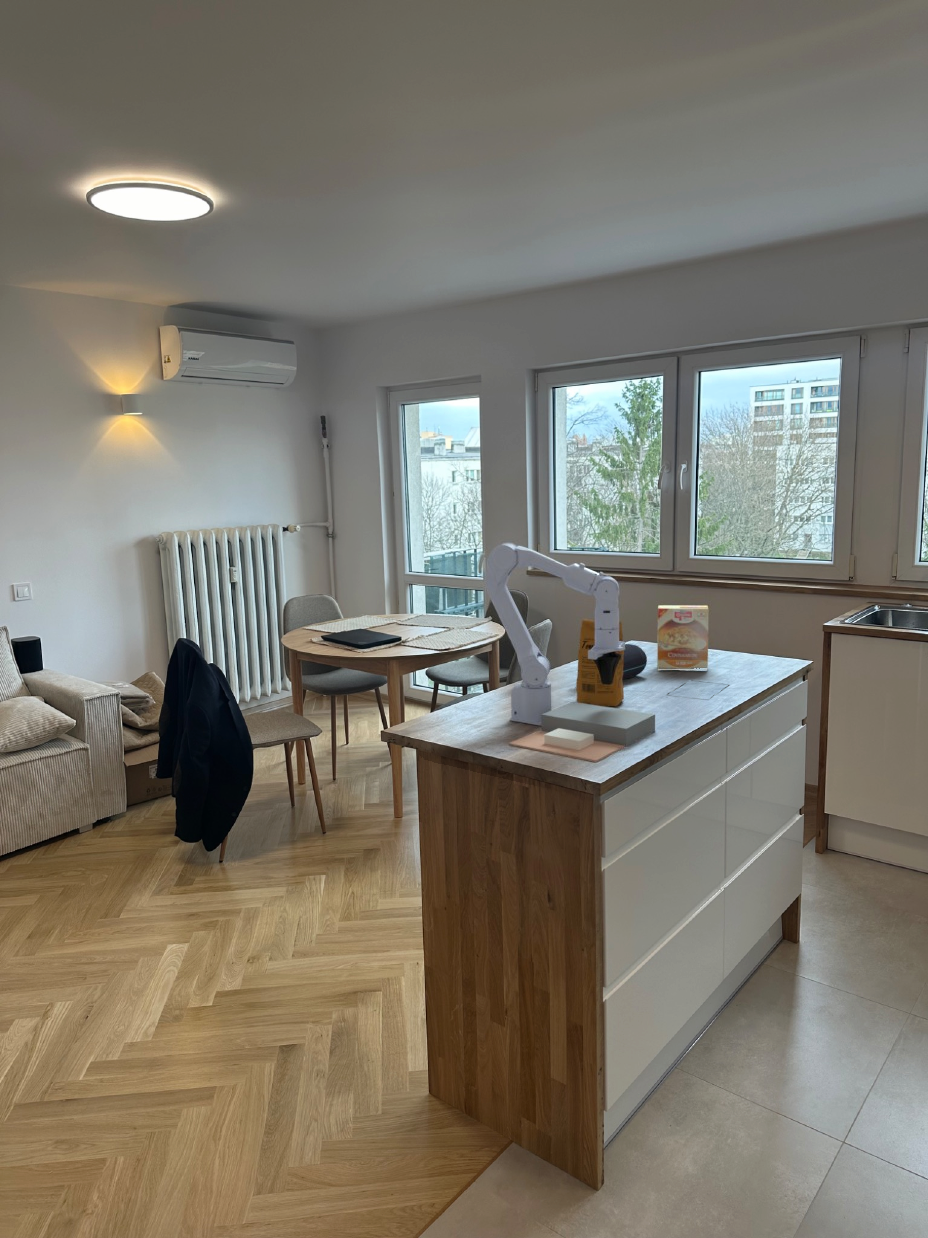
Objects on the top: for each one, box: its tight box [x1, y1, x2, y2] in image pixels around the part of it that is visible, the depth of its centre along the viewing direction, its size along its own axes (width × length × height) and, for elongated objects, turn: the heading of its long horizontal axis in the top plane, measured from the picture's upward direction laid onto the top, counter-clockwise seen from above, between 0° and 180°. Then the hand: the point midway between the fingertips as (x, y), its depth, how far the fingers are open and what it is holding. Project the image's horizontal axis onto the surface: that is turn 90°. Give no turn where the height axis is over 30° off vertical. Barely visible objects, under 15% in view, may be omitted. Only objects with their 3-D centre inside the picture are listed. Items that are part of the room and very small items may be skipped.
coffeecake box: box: [656, 604, 710, 670], centre depth 259 cm, size 15×7×20 cm, turn 77°
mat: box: [508, 730, 625, 763], centre depth 186 cm, size 22×12×1 cm, turn 52°
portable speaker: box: [622, 643, 648, 681], centre depth 246 cm, size 25×10×10 cm, turn 135°
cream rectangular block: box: [544, 728, 594, 750], centre depth 186 cm, size 9×6×2 cm, turn 52°
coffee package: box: [575, 618, 625, 707], centre depth 222 cm, size 10×12×22 cm
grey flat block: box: [540, 701, 656, 747], centre depth 196 cm, size 22×14×4 cm, turn 52°
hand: (607, 683), depth 203 cm, fingers closed
